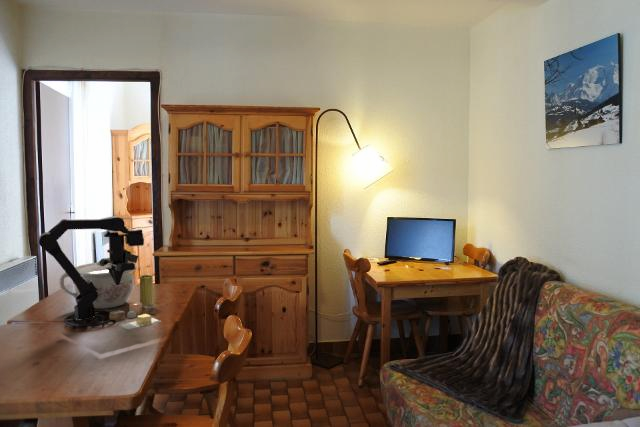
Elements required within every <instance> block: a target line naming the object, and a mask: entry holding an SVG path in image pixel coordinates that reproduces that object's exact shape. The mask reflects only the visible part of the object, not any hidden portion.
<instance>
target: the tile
mask: <svg viewBox="0 0 640 427" xmlns="http://www.w3.org/2000/svg"><path fill="white" fill-rule="evenodd" d="M135 318H136V321H137V323H140V324H146V323H150V322H151V318H152V315H151V314H145V313H142V314H137V315H136V317H135Z"/></svg>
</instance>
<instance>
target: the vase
mask: <svg viewBox="0 0 640 427" xmlns="http://www.w3.org/2000/svg"><path fill="white" fill-rule="evenodd" d="M153 276H154V275H151V274H141V275H140V276H139V303H142V308H144V306H147V305H154V306H155V300H154V286H153V283H154V282H153V280H154V278H153Z"/></svg>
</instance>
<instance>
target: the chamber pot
mask: <svg viewBox="0 0 640 427" xmlns="http://www.w3.org/2000/svg"><path fill="white" fill-rule="evenodd" d="M74 267H75V268H76V269H77V271H78V272H79V273H80V274H81V276H82V277H83V278H84V279H85V280H87V281H88V280H89V279H91V281H92V283H93V284H94V285H95V286H96V287H97V289H98V290H96V291H97V293H98V297H97V299H96V300H95V301H93V304H94V307H95V310H107V309H113V308H117V307H120V306H122V305H124V304H125V303H126V302H127V301H128V300H129V299H130V297H131V295H132V293H133V292H134V286H135V276H134V275H133V273H132V272H133V271H134V270H129V271H124V272H123V275H122V278H121V281H120V284H119V285H116V284H115V282H114V280H113V278H112V277H111V275H110V273H109V271H108V270H107V268H108V265H104V266H100V260H99V261H97V262H92V263H86V264H81V265H78V266H74ZM137 269H138V266H137V264H135V270H137ZM66 278H70V277H69V276H68V274H67V273H66V272H65V271H64V272H63V274H62V275H61V276H60V278H59V286H60V289H62V291H64V292H65V293H66V294H68V295H70V296H71V297H73V298H74V299H75V298H76V297H77V296H78V295H79V294H80V292H79V290H78V288H77V286H76V285H75V283H74V282H73V281H72V283H73V287H74V291H71V290H69V289H68V288H66V285H65V279H66Z"/></svg>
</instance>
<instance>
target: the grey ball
mask: <svg viewBox="0 0 640 427" xmlns="http://www.w3.org/2000/svg"><path fill="white" fill-rule="evenodd" d="M136 316H137V315H136V313H135V312H134V311H130V312H129V311H128V312H127V314H126V318H127V319H135V318H136Z"/></svg>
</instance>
